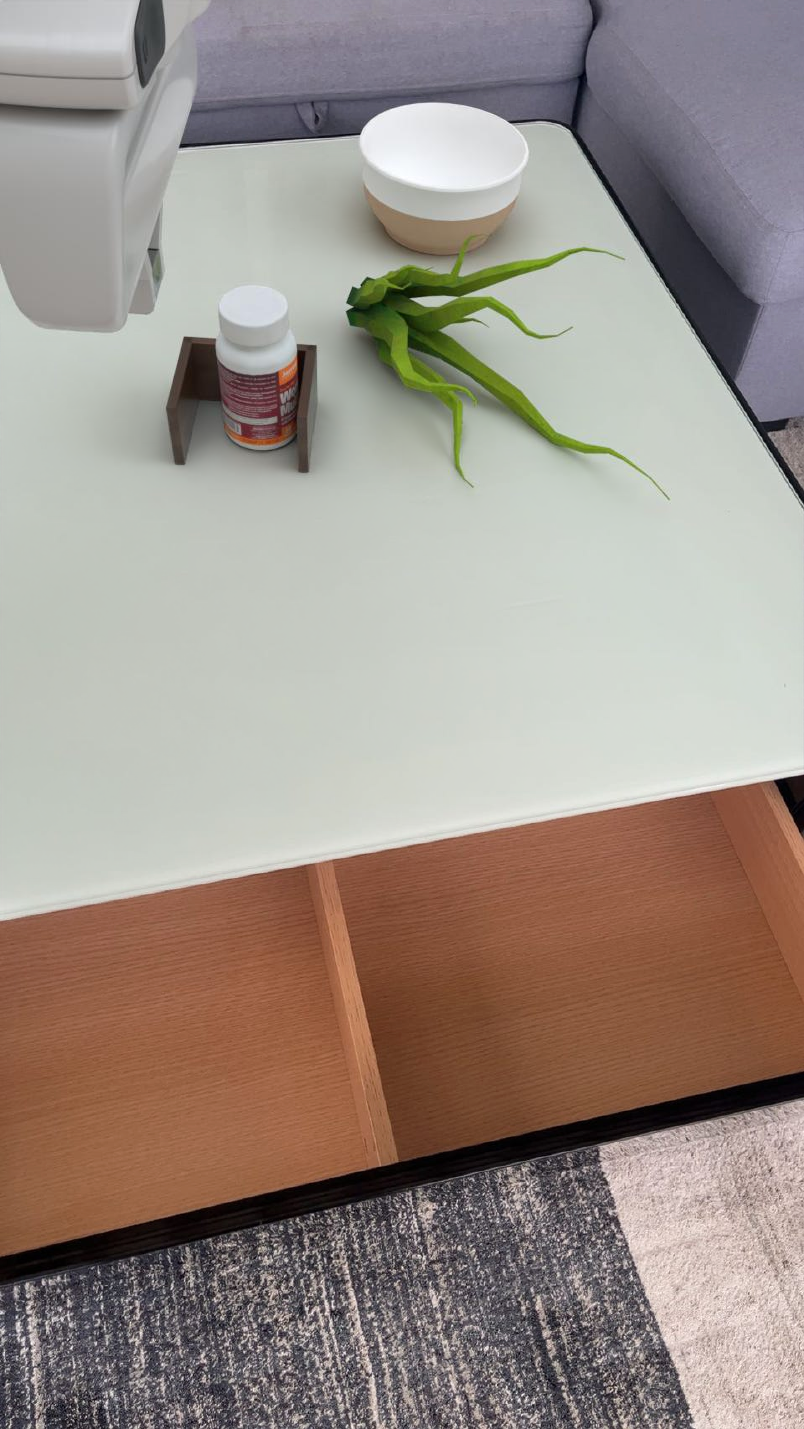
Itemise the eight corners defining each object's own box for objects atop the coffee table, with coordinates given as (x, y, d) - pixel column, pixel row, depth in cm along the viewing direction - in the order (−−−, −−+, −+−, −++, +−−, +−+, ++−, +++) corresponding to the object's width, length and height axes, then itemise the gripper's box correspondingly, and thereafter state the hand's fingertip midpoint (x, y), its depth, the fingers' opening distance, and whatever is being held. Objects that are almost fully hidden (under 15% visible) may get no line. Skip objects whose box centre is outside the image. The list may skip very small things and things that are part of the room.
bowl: (497, 285, 100) (508, 204, 94) (335, 250, 102) (335, 168, 96) (532, 199, 109) (545, 120, 103) (383, 169, 111) (386, 89, 105)
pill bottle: (298, 454, 85) (294, 332, 76) (221, 452, 85) (207, 329, 76) (300, 404, 89) (297, 281, 80) (226, 402, 88) (214, 279, 79)
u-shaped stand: (174, 464, 84) (165, 408, 79) (191, 392, 89) (183, 336, 84) (308, 472, 84) (307, 417, 80) (317, 401, 89) (316, 345, 85)
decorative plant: (449, 562, 80) (470, 403, 67) (339, 326, 95) (340, 162, 83) (664, 517, 83) (720, 360, 71) (524, 298, 99) (550, 138, 87)
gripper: (57, -171, 43) (115, 170, 54) (-99, 66, 31) (17, 438, 42) (214, -158, 43) (239, 179, 54) (118, 82, 31) (175, 449, 42)
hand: (141, 295), depth 48 cm, fingers closed
